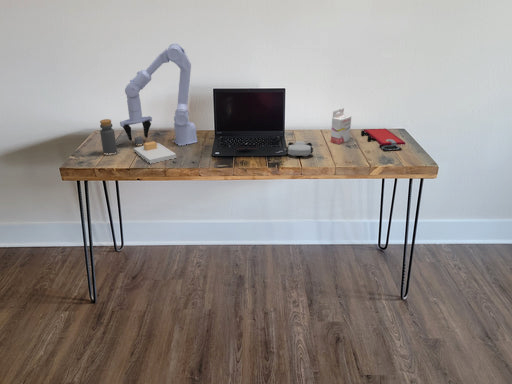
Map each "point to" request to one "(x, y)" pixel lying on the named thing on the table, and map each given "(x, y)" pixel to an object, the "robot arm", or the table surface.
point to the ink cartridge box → (340, 127)
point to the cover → (138, 140)
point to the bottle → (107, 137)
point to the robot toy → (299, 148)
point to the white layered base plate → (155, 153)
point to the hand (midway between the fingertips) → (138, 138)
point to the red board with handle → (383, 138)
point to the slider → (150, 145)
